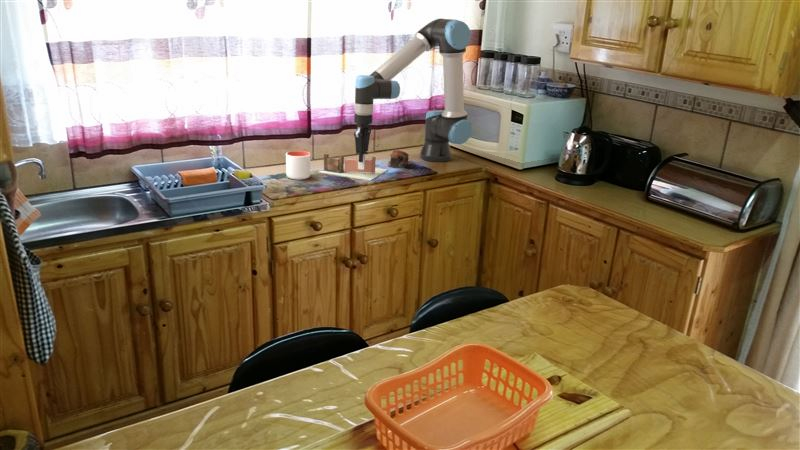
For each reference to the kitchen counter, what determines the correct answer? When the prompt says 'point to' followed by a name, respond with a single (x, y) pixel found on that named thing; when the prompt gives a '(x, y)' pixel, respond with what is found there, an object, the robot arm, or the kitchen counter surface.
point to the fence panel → (352, 165)
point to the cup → (298, 165)
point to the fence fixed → (334, 163)
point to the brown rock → (398, 159)
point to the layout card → (356, 174)
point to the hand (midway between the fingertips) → (361, 169)
